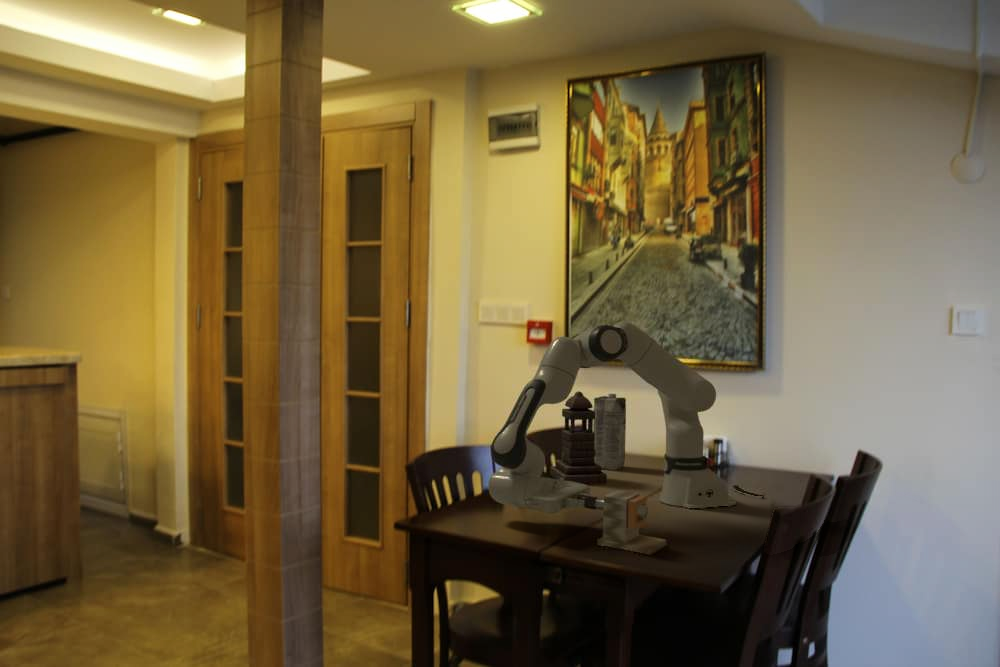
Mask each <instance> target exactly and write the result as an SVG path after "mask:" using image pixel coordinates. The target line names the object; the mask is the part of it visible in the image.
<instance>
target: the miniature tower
mask: <svg viewBox="0 0 1000 667" xmlns="http://www.w3.org/2000/svg"><path fill="white" fill-rule="evenodd" d="M564 406H565V407H568V408H562V409H561V413H562V414H561V417H562V418H564V429H561V438H562V440H561V441H562V443H561V445H562V451H561V452H562V454H561V457H562V458H561V459H556V460H555V465H554V466H553V465H551V466H550V468H549V469H550V470H549V471H550V472H549V473H550V476H551V475H552V478H557V477H559V478H563V479H564V481H572V482H577V483H581V484H585V485H596V484H595V483H598V484H599V483H605V484H607V482H608V481H607V479H608V478H607V477H608V475H607V474H606V473H605V472H603V471H602V469H601V466H600V465H598V464H596V463H595V458H594V457H595V451H596V450H595V442H594V440H595V433H594V432H593V422H594V419H595V411H594V409H593V408H594V405H593V404H592V403H591V401H590V400H589V398H587V397H586V396H585V395H584V394H583V392H582V391H580V390H579V391H576V392H575V393H574V395H572V396H570V397H568V398H567V399H566V401H565V404H564ZM577 420H579V421H581V428H579V429H578V428H577V429H576V428H575V427H576V426H575V424H576V423H575V422H576V421H577Z"/></svg>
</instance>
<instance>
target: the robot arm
mask: <svg viewBox="0 0 1000 667" xmlns="http://www.w3.org/2000/svg"><path fill="white" fill-rule="evenodd" d="M617 359H619V360H620V361H621V362H623V364H624V365H626V366H627V367H628V368H629V369H631V370H632V371H633V372H634V373H635V374H636V375H637V376H639V378H641V379H642V380H643V381H645V382H646V383H648V385H650V386H652V387H653V388H655V389H657V394H658V396H659V398H660V401H661V406H662V412H663V413H662V414H663V418H664V423H665V453H664V456H663V473H664V476H663V483H662V487H661V492H660V496H659V501H660V502H661V503H664V504H666V505H670V506H671V505H672V506H675V507H681V506H682V507H681V508H686V507H687V508H686V509H690V508H693V509H692V510H695V509H694V508H700V509H707V508H706V507H714V508H717V507H716V506H724V505H735V504H737V501H736V499H735V498H733V497H732V496H731V495H729V490H728V486H727V483H726V481H725V480H723V479H722V478H721V477H720V476H719V475H718V474H717V473H715V472H714V471H713V470H711V469H710V468H709V467H712V466H714V465H715V460H714V459H712V458H710V457H709V458H708V457H707V456H705V455H704V435H705V434H704V428H703V426H702V424H701V421H700V417H699V413H702V412H705V411H708V410H710V409H711V408H712V407H713V406H714V404H715V402H716V398H717V391H716V389H715V386H714V384H712V383H711V381H709V380H707V378H705V377H703V376H702V375H701V374H699V373H698V372H697V371H695V370H694V369H693V368H691V367H690V366H688V364H686V363H684V362H683V361H682V360H680V359H678V358H677V357H675V356H674V355H673V354H672V353H670V352H669V351H667V349H665V348H664V347H663V346H662V345H661V344H659V343H658V342H657V341H656V340H655V339H653V338H652V337H651V336H650V335H649V334H648V333H647V332H645V331H644V330H642V329H641V328H640V327H638V326H636V325H634V324H633V323H631V322H630V321H626V320H622V321H618V322H617V323H615V324H613V325H610V324H602V325H597V326H595V327H590V328H588V329H585V330H584V331H582V332H580V333H577V334H576V335H573V336H572V337H568V336H558V337H555V338H554V339H552V341H551V342H550V344H549V346H548V347H547V349H546V350H545V352H544V354H543V356H542V359H541V361H540V363H539V366H538V368H537V370H536V372H535V375H534V377H533V378H532V380H530V381H528V383H526V385H524V388H523V389H522V391H521V392H520V394H519V396H518V398H517V400H516V402H515V404H514V406H513V408H512V409H511V411H510V413H509V415H508V417H507V420H506V422H505V423H504V425H503V427H502V428H500V430H499V431H498V433H497V434H496V436H494V438H493V440H492V443H491V445H490V455H491V458H492V461H494V463H495V464H496V465H498V466H500V467H499V469H498V470H497V471H495V472H493V473H491V475H490V476H489V479H488V483H487V487H488V488H487V489H488V492H489V495H490V497H491V498H492V499H493V500H494V501H495V502H497V503H498V504H502V505H505V506H509V507H515V508H522V507H524V508H525V509H528V510H531V511H537V512H542V513H546V514H557V513H559V512H562V511H563V510H566V509H569V508H581V509H582V508H583V507H585V506H586V500H583V499H579V500H578V499H577V496H578V495H586V496H592V497H594V496H593V495H591V488H590V486H589V485H588V484H581V483H577V482H572V481H564V479H563V478H559V477H557V478H554V477H550V478H549V477H545V476H544V477H543V476H542V475H543V473H544V469H545V468H546V467H545V466H546V462H547V460H546V455H545V452H544V451H543V450H542V449H541V448H540V447H539V446H538V445H537V444H535V443H534V442H532V441H530V440H529V439H528V437H527V434H528V430H529V428H530V426H531V424H532V422H533V420H534V418H535V416H536V415H537V412H538V410H539V409H540V407H542V406H544V405H557V404H560V403H562V402H563V401H565V400H568V398H569V395H570V394H571V392H572V390H573V389H574V388H573V387H574V386H575V382H576V379H577V376H578V372H579V370H580V369H590V368H594V367H599V366H602V365H605V364H607V363H610V362H613V361H615V360H617ZM735 506H736V505H735ZM583 509H584V508H583Z"/></svg>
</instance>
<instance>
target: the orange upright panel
mask: <svg viewBox="0 0 1000 667" xmlns="http://www.w3.org/2000/svg"><path fill="white" fill-rule="evenodd" d="M640 505H643V506H647V496H645V495H640V496H639V497H636V498H634V499H632V500H630V501H629V505H628V530H633V531H634V530H636V529H638V528H639V529H640V528H641V527H644V526H646V524H647V517H646V518H644V517H639V516H638V519H637V507H638V506H640Z"/></svg>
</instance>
